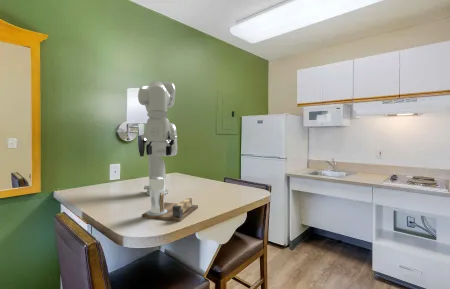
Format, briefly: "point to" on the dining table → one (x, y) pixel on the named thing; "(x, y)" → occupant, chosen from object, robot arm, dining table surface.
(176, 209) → the leg
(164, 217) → the seat board
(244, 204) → the dining table surface
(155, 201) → the beer glass
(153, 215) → the felt pad
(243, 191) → the dining table surface
